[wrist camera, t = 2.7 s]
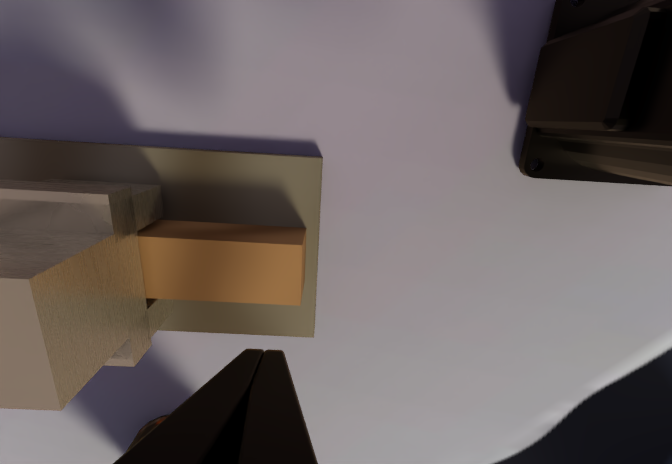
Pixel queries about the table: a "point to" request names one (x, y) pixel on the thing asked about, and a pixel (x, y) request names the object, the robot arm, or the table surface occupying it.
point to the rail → (208, 228)
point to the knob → (72, 286)
